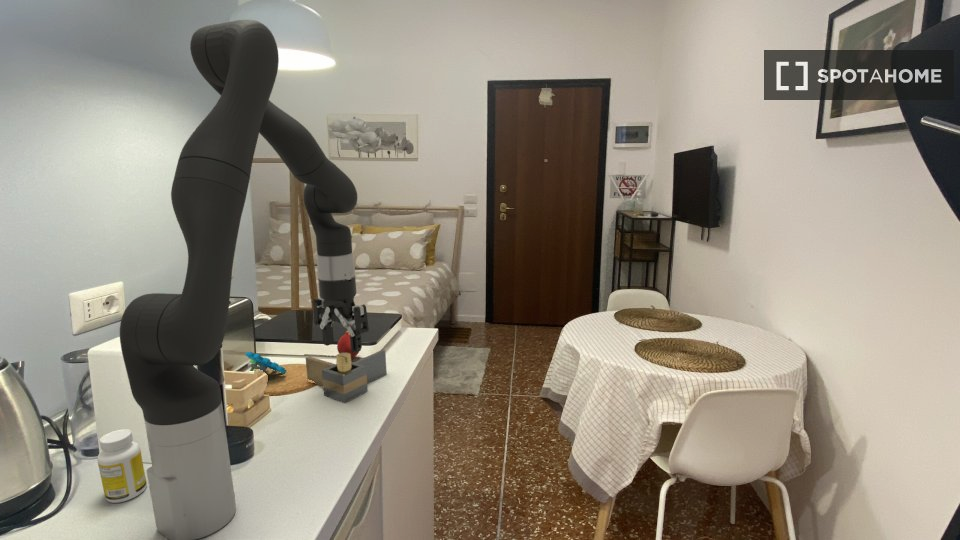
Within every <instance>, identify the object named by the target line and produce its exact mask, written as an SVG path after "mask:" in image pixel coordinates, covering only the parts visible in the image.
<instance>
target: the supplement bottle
mask: <svg viewBox="0 0 960 540" xmlns="http://www.w3.org/2000/svg"><path fill="white" fill-rule="evenodd" d="M133 439H134V437H133V434H132V430H131V429H128V428H125V429H124V428H122V429H118V430H113V431H111V432H108V433H105V434H104V435H103V436H101V437H100V439H99V446H100V449H101V451H100V452H99V454H98V455H97V466H98V470H99V476H100V479H101V483H102V490H103V493H104V497H105V500H106V501H107V502H109V503H113V504H114V503H116V504H117V503H123V502H128V501H129V500H131V499H134V498H136V497H138V496H139V495H141V494H142V493H143V492H144V491H145V490H146V488H147V485H148V483H147V482H148V481H147V476H146V472H145V468H144V467H145V466H144V462H143V457H142V450H141V447H140V445H139V443H138V442H136V441H133Z"/></svg>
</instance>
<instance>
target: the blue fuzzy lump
mask: <svg viewBox="0 0 960 540" xmlns="http://www.w3.org/2000/svg"><path fill="white" fill-rule="evenodd" d="M245 356H246V357H247V358H248V359H250V360H249V363H251V364H250V366H249V367H250V369H249V371H254V370H257V369H260V370H263V371H264V372H266V371H267V370H268V369H270V370H271V369H273V370H275V371H276V370H277V371H279V372H281V373H282V374H283V373H284V375H286V373H287V370H286V368H284V366H279V365H280V364H279V363H277V362H275V361H274V362H272V361H271V359H270V358H268V357H264V356H262V355H260V354H258V353H254V352H252V351H246V353H245ZM273 370H272V371H273ZM275 371H274V372H275ZM277 371H276V372H277ZM279 372H278V373H279ZM281 373H280V374H281Z"/></svg>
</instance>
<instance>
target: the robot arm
mask: <svg viewBox="0 0 960 540" xmlns="http://www.w3.org/2000/svg"><path fill="white" fill-rule="evenodd" d="M189 45H190V48H189V49H190V55H191V58H192V61H193V63H194V65H195V67H196V68H197V69H196V70H198V72H199V73H200V75H201V76H202V77H203V79H204V80H205V81H206V82H207V83H208V84H209V85H210V86H211V87H212V89H214V90H215V92H217V93H218V95H220V97H219V99H218V100H217V102H216V103H215V105H214V107H213V108H211V111H210V112H209V113H208V114H207V115H206V116H205V117H204V119H203V120H202V121H201V122H200V123H199V125H198V126H197V127H196V128H195V130H194V131H193V132H192V133H191V134H190V135H189V137H188V139H187V140H186V142H185V143H184V145H183V147H182V149H181V152H180V154H179V156H178V157H179V158H178V160H177V164H176V167H175V173H174V177H173V181H172V184H171V191H170V197H171V198H170V199H171V200H170V201H171V205H172V208H173V209H172V210H173V212H174V215H175V218H176V221H177V223H178V225H179V228H180V230H181V233H182V235H183V238H184V241H185V244H186V249H187V255H188V256H187V268H186V274H185V279H184V280H185V281H184V285H183V289H182V291H181V293H163V292H162V293H161V292H160V293H159V292H158V293H153V292H152V293H146V294H143V295H140V296H137V297H136V298H134V299H133V300H132V301H131V302H129V304H128V305H127V306H126V308H125V309H124V311H123V314H122V317H121V319H120V324H119V342H120V349H121V353H122V354H121V355H122V358H123V362H124V366H125V370H126V375H127V378H128V383H129V386H130V391H131V395H132V396H133V397H132V398H133V399H134V401H135V402H136V404H137V405H138V407H140V408H141V411H142V415H143V419H144V420H143V421H144V425H145V430H146V431H145V432H146V438H147V443H148V449H149V450H148V451H149V456H150V461H151V466H150V467H148V468H147V469H146V477H147V480H148V481H147V482H148V487H149V493H150V498H151V499H150V500H151V504H152V510H153V515H154V522H155V527H156V530H157V531H158V532H159V533H161V535H163V536H164V537H165V538H167V539H168V540H199V539H201V538H205V537H207V536H209V535H212V534H214V533H215V532H218V531H220V529H222V528H224V526H226V525H228V523H229V522H230V521H231V520H232V519H233V517H235V516H234V515H236V511H237V503H236V494H235V488H234V482H233V474H232V468H231V459H230V453H229V452H230V451H229V446H228V445H229V444H228V438H227V437H228V436H227V430H226V429H227V428H226V422H225V414H224V409H223V401H222V393H221V388H220V385H219V383H218V382H217V380H216V379H214V378H213V377H212V376H210V375H208V374H205V372H204V373H203V372H202V371H200V370H199V369H198V368H196V367H197V366H203V365H205V364H207V363H209V362H210V361H211V360H213V359H214V358H215V357H216V355H217V354H218V353H219V351H220V348H221V346H222V344H223V342H224V339H225V335H226V331H227V325H228V318H229V309H230V300H231V299H230V298H231V290H232V289H231V286H232V277H233V276H232V275H233V265H234V260H235V253H236V247H237V240H238V235H239V231H240V230H239V229H240V225H241V220H242V215H243V211H244V208H245V203H246V199H247V194H248V188H249V183H250V179H251V173H252V165H253V161H254V160H253V159H254V156H255V152H256V147H257V144H258V139H259V136H260V135H261V137H263V138H264V140H265V141H266V142H267V143H268V144H269V145H270V146H271V148H272V149H273V150H274V151H275V152H276V154H277V155H278V156H279V158H280V159H281V161H282V162H283V163H284V165H285V166H286V167H287V169H288V170H289V172H290V173H291V174H292V175H293V176H294V178H295V179H296V180H297V181H299V182H300V183H301V184H305V187H304V189H303V202H304V207H305V210H306V213H307V215H308V218H309V221H310V224H311V227H312V229H313V231H314V235H315V242H316V253H317V255H316V256H317V261H316V263H317V264H316V268H317V278H318V279H317V281H318V292H319V297H316V298H314V299H313V300H312V301H313V302H312V303H313V305H312V307H313V322H314V325H316V326H319V327H320V329H321V332H322V341H323V345H324V346H327V347H328V346H331V345H332V344H333V345H334V342H335V340H334V339H335V338H334V337H335V336H334V327H332V326H333V324H334V323H335V322H337V323H339V324H341V325H342V326H343V328H344V329H346V331H349V333H350V335H351V336H350V344H351V352H352V353H357V352H359V353H360V352H361V351H362V347H363V345H362V335H364V334H365V333H368V332H369V322H368V311H367V305H366V304H360V305H356V302H355V301H354V299H355V296H357V280H356V269H355V268H356V267H355V259H354V256H353V255H354V254H353V245H352V244H353V242H352V231H351V229H350V227H349V226H347V225H345V224H342V223H339V222H337V221H336V220H335V218H334V216H333V215H332V214H347V213H349V212H350V213H351V212H352V211H353V210H354V209H355V207H356V206H357V202H358V191H357V188H356V186H355V184H354V183H353V181H352V180H351V178H350V177H349V175H347V174H346V173H345V172H344V171H343V170H341V169H340V168H339V167H338V166H337V165H336V164H335V163H334V162H332V161H331V160H330V159H329V158H328V157H327V156H326V155H325V152H324V151H323V150H322V148H321V146H320V144H319V143H318V142H317V140H316V139H315V137H314V136H313V134H312V133H311V132H310V131H309V130H308V128H307V127H306V126H304V125H303V124H302V123H301V122H299V121H298V120H297V119H296V118H294V117H293V116H291V115H289V113H287V112H286V111H284V110H282V109H281V108H280V107H278V106H277V105H276V104H275V103H273V102H272V101H271V100H270V97H271V94H272V92H273V89H274V85H275V83H276V78H277V75H278V72H279V61H280V60H279V59H280V57H279V50H278V44H277V42H276V39H275V36H274V35H273V33H272V31H271V30H270V29H269V27H268V26H267V25H265V24H264V23H262V22H260V21H258V20H254V19H236V20H232V21H226V22H222V23H215V24H210V25H206V26H201V27H200V28H198V29H197V30H195V31H194V33H193V34H192V36H191V40H190V43H189ZM320 316H321V317H320Z"/></svg>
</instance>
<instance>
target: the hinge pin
mask: <svg viewBox="0 0 960 540" xmlns="http://www.w3.org/2000/svg"><path fill="white" fill-rule="evenodd" d="M335 357H336V358H335V359H336V364H337V370H338V373H342V374H344V373H346V372H349V371H351V370H352V366H351V362H352V360H351V354H350V353H340V354H339V353H338V354H336V355H335Z"/></svg>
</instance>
